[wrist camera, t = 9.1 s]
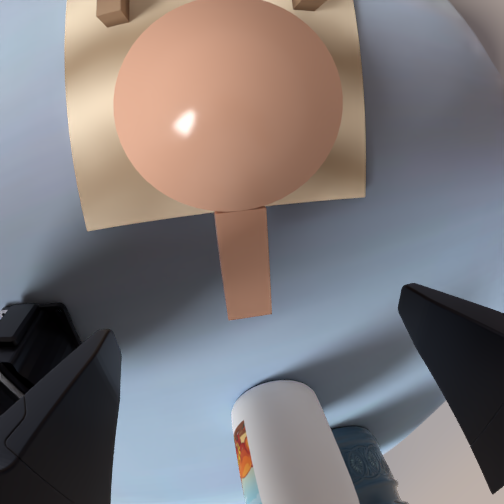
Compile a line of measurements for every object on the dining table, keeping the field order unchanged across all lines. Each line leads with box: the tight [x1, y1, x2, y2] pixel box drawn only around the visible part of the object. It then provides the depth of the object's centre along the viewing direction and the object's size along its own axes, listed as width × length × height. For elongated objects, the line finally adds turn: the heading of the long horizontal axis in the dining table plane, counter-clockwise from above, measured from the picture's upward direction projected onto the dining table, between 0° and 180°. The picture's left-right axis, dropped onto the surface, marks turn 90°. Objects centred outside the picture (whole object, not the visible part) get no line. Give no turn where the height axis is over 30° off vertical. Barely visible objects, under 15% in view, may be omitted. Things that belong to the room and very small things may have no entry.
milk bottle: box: [231, 380, 360, 504], centre depth 15 cm, size 8×8×20 cm
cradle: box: [65, 0, 366, 231], centre depth 12 cm, size 18×16×3 cm
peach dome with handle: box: [113, 0, 343, 320], centre depth 12 cm, size 11×7×6 cm, turn 4°
